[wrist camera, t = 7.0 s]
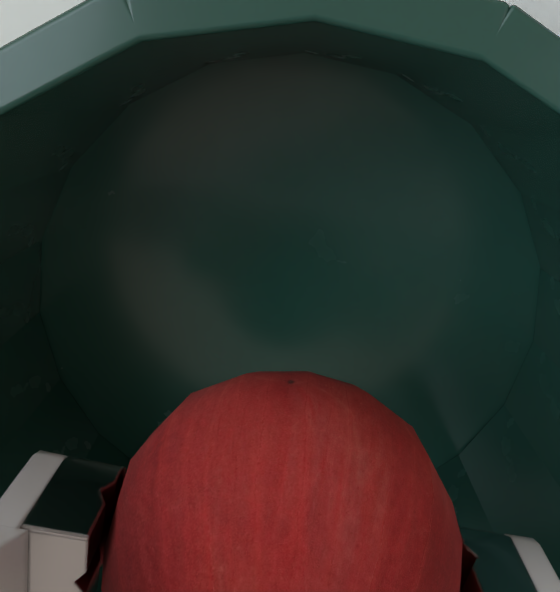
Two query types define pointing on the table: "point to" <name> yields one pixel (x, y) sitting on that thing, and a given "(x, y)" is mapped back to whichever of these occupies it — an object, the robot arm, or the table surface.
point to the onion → (282, 496)
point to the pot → (288, 227)
